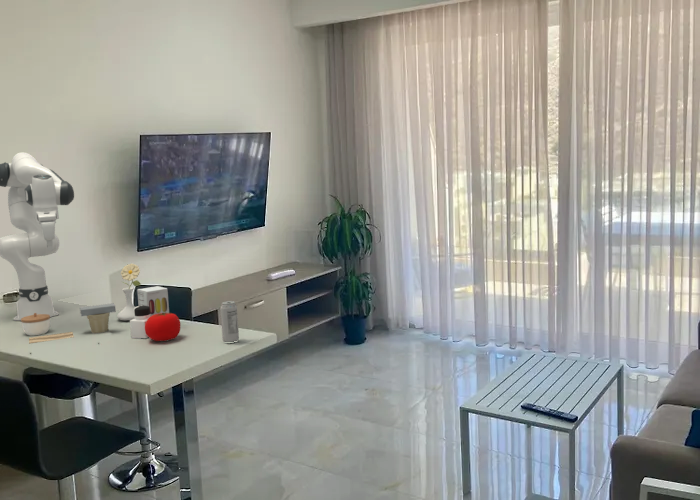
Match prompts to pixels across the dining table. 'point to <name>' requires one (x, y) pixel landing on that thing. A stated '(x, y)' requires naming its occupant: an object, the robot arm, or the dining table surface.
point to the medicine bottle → (139, 322)
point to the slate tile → (97, 309)
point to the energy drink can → (229, 321)
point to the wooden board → (51, 337)
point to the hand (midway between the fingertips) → (50, 249)
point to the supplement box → (154, 299)
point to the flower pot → (99, 322)
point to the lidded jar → (36, 324)
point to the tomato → (162, 327)
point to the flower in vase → (129, 291)
